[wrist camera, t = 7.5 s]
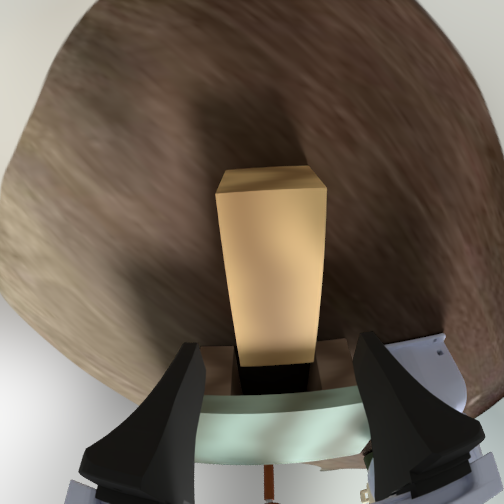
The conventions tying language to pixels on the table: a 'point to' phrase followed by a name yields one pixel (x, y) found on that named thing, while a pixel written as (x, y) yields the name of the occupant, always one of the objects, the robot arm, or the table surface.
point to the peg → (273, 260)
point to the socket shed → (281, 413)
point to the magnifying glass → (269, 484)
